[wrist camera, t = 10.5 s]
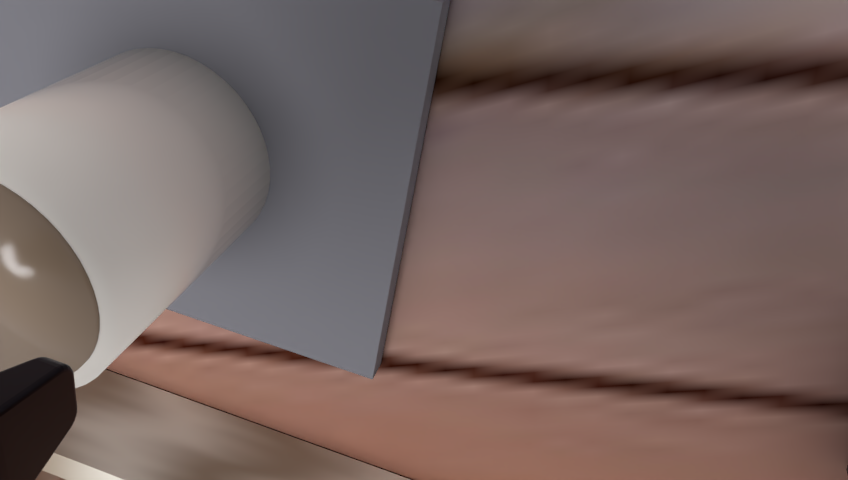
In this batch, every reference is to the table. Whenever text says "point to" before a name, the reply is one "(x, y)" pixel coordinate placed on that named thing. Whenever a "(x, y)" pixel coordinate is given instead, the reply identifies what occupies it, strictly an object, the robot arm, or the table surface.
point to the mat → (281, 145)
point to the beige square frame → (183, 442)
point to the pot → (118, 202)
